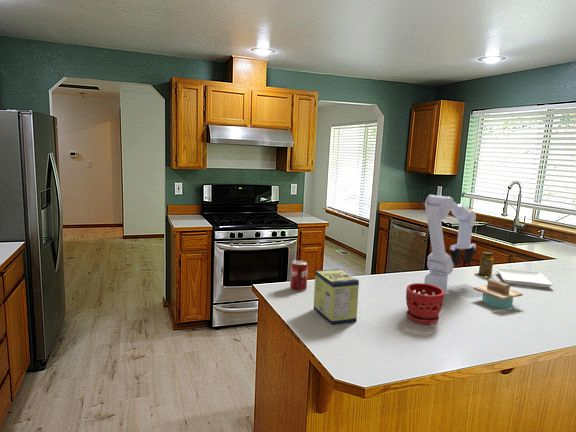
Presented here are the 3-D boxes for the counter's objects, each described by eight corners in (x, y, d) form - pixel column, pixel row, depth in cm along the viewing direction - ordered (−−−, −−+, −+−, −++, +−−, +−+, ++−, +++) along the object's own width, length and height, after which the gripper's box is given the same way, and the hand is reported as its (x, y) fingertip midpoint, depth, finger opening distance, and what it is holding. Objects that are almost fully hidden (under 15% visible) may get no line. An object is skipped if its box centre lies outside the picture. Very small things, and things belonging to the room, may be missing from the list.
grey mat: (469, 299, 176) (469, 298, 176) (442, 288, 189) (442, 287, 189) (493, 295, 182) (493, 294, 182) (465, 284, 196) (465, 283, 196)
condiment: (494, 275, 214) (497, 253, 212) (488, 278, 208) (490, 255, 206) (480, 272, 219) (482, 250, 217) (473, 275, 213) (476, 252, 211)
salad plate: (502, 285, 198) (503, 278, 198) (494, 273, 218) (495, 267, 218) (552, 291, 192) (553, 284, 192) (539, 278, 213) (540, 272, 212)
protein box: (336, 306, 162) (339, 268, 159) (357, 322, 147) (360, 280, 145) (312, 309, 158) (314, 270, 155) (331, 325, 144) (333, 282, 141)
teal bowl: (499, 310, 164) (501, 298, 163) (476, 301, 174) (477, 290, 173) (518, 307, 169) (519, 295, 168) (494, 298, 178) (495, 287, 178)
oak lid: (501, 299, 162) (502, 289, 161) (473, 289, 174) (474, 279, 173) (522, 295, 168) (523, 285, 167) (494, 285, 179) (495, 276, 179)
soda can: (307, 286, 184) (308, 260, 182) (306, 292, 177) (307, 265, 175) (290, 285, 184) (291, 259, 183) (289, 291, 177) (290, 264, 175)
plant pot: (397, 314, 156) (399, 284, 154) (425, 311, 160) (428, 281, 158) (419, 328, 144) (422, 296, 142) (449, 324, 148) (452, 292, 146)
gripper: (460, 238, 184) (457, 267, 186) (482, 236, 190) (479, 264, 193) (448, 235, 190) (445, 263, 192) (470, 233, 197) (467, 261, 199)
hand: (461, 264), depth 193 cm, fingers open, 7 cm apart
